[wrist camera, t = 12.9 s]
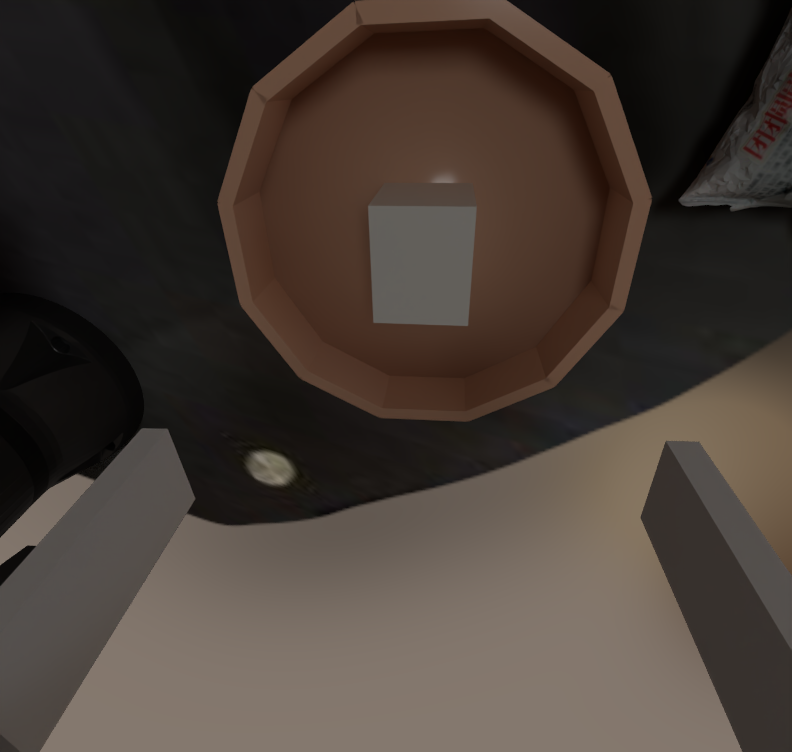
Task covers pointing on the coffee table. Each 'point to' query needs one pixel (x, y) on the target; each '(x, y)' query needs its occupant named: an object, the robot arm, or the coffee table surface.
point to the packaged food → (754, 143)
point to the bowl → (435, 163)
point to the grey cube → (422, 252)
